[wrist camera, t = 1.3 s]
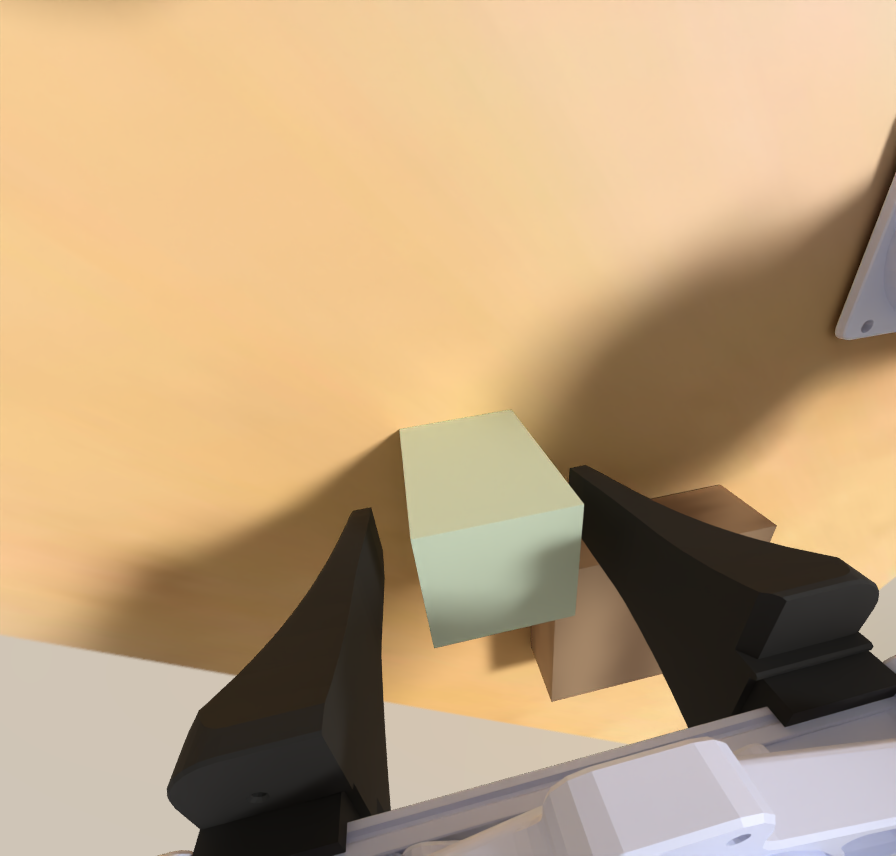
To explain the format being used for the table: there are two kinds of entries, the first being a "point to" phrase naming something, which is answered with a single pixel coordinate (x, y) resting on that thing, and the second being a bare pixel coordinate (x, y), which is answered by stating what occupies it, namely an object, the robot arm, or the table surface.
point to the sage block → (489, 527)
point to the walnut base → (623, 609)
